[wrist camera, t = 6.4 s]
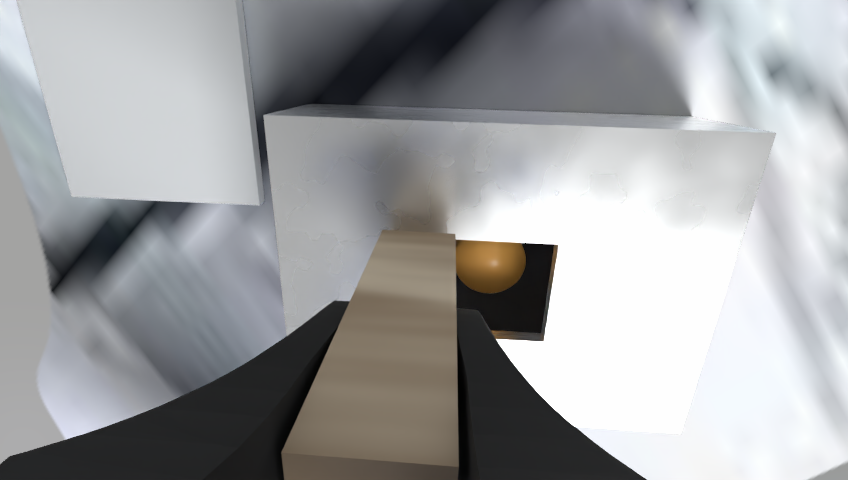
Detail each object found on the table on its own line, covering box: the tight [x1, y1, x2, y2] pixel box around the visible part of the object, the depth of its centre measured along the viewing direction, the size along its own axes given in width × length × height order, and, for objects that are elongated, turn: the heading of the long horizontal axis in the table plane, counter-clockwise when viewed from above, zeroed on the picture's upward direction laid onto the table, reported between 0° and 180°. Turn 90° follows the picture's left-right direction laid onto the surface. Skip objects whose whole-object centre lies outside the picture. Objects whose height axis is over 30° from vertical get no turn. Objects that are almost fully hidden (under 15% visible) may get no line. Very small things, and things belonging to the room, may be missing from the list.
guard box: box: [263, 104, 776, 434], centre depth 18 cm, size 12×16×5 cm
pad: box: [17, 0, 265, 205], centre depth 19 cm, size 9×9×1 cm
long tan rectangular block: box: [281, 230, 459, 480], centre depth 10 cm, size 2×2×9 cm
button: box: [456, 240, 526, 293], centre depth 19 cm, size 3×3×2 cm
